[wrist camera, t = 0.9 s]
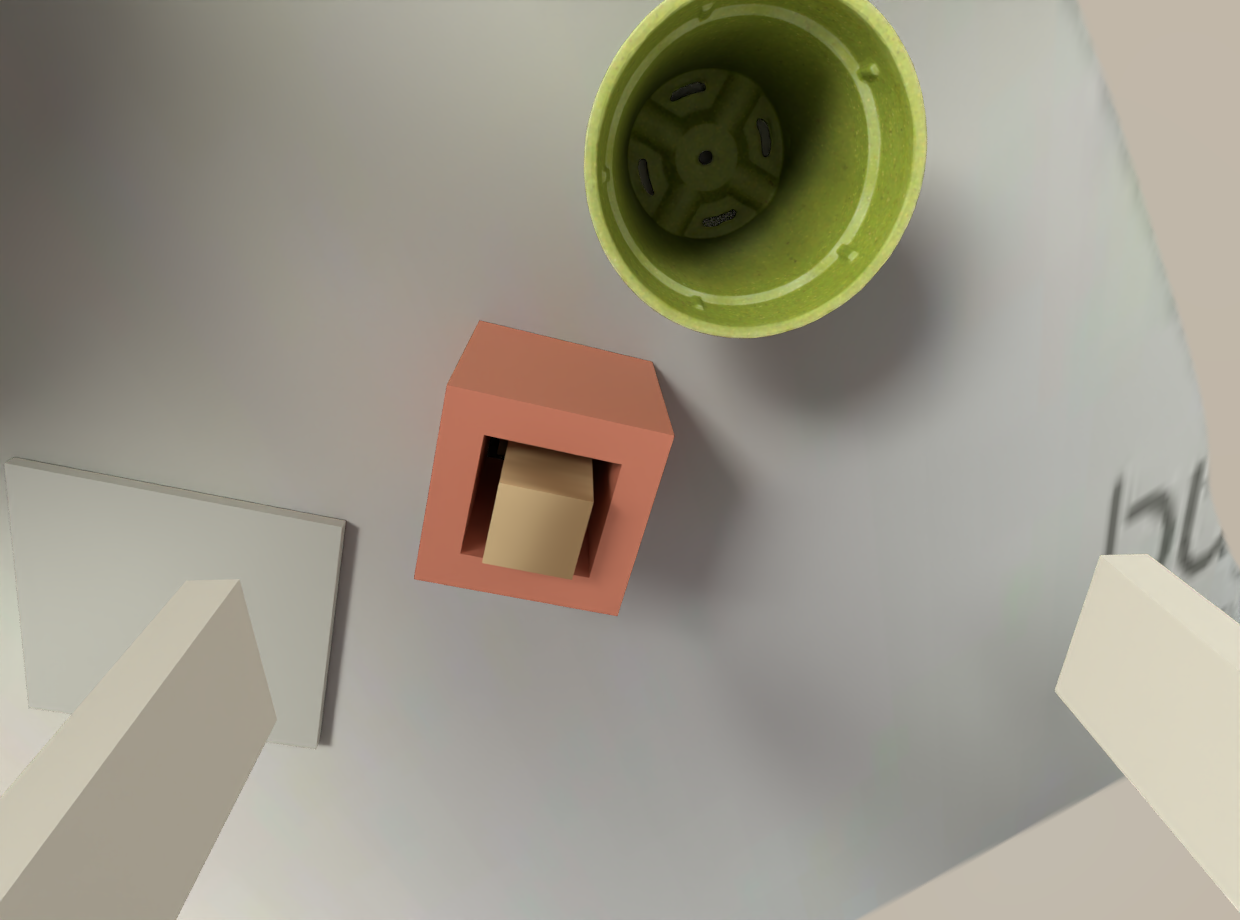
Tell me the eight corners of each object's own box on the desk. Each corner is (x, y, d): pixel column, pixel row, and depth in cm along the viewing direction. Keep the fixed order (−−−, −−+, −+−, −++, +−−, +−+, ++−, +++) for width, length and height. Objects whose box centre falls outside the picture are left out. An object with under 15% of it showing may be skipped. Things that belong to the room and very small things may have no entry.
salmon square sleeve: (450, 477, 32) (413, 578, 25) (479, 320, 30) (446, 384, 22) (609, 509, 34) (617, 616, 26) (652, 361, 31) (674, 436, 23)
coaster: (36, 699, 37) (28, 708, 36) (13, 456, 31) (3, 463, 30) (319, 740, 39) (316, 749, 38) (345, 520, 33) (341, 527, 33)
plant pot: (796, -32, 25) (896, -103, 17) (850, 233, 29) (951, 275, 21) (545, 69, 26) (530, 46, 18) (630, 313, 30) (648, 381, 22)
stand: (497, 450, 32) (467, 570, 23) (514, 371, 31) (488, 468, 22) (580, 468, 33) (581, 591, 24) (601, 391, 31) (609, 493, 23)
